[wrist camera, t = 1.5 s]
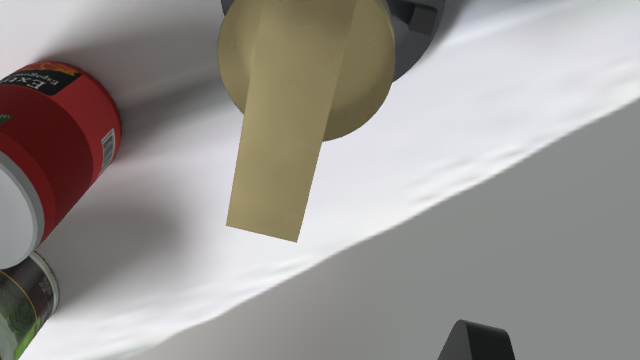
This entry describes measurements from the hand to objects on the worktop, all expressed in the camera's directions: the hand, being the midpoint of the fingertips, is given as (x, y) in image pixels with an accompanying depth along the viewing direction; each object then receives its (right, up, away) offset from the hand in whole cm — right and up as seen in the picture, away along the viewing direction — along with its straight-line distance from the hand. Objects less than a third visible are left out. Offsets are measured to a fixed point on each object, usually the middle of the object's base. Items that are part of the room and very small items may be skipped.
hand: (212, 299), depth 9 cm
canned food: (-15, +6, +28) cm, 32 cm away
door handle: (+1, +7, +14) cm, 16 cm away
